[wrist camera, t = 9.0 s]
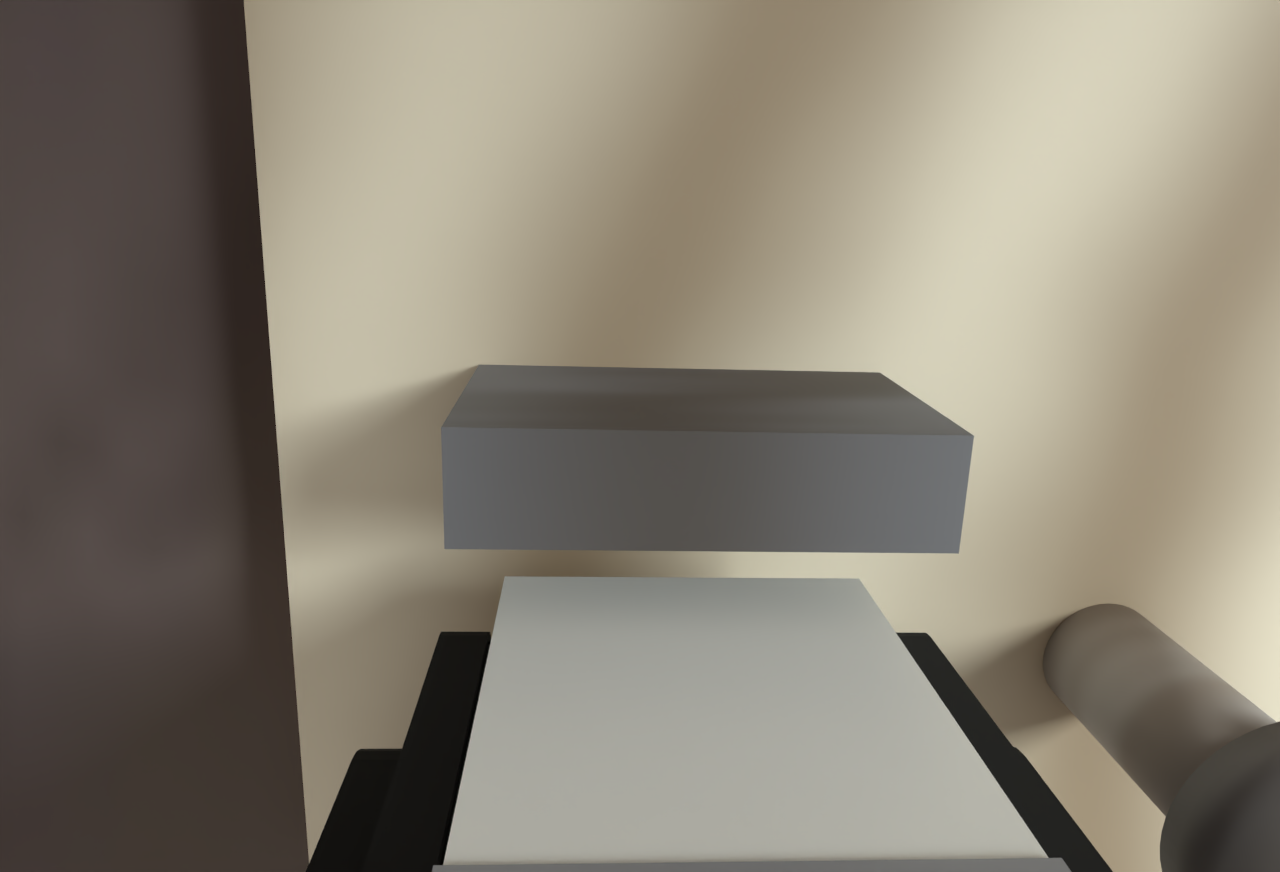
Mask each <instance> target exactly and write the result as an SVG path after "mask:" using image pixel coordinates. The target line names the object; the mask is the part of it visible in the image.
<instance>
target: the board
mask: <svg viewBox="0 0 1280 872" xmlns="http://www.w3.org/2000/svg"><path fill="white" fill-rule="evenodd" d="M244 11H245V24H246V37H247V50H248V64H249V77H250V90H251V103H252V116H253V130H254V143H255V156H256V169H257V182H258V196H259V209H260V222H261V235H262V248H263V262H264V275H265V288H266V301H267V314H268V327H269V341H270V354H271V367H272V380H273V393H274V407H275V420H276V433H277V446H278V459H279V473H280V486H281V499H282V512H283V525H284V539H285V552H286V565H287V578H288V591H289V605H290V618H291V631H292V644H293V657H294V670H295V684H296V697H297V710H298V723H299V736H300V750H301V763H302V776H303V789H304V802H305V816H306V829H307V842H308V855H309V863H310V860H311V858H312V855H313V853H314V851H315V848H316V846H317V843H318V841H319V838H320V836H321V833H322V831H323V829H324V826H325V824H326V821H327V819H328V816H329V814H330V812H331V809H332V807H333V804H334V802H335V799H336V797H337V794H338V792H339V790H340V787H341V785H342V782H343V780H344V777H345V775H346V772H347V770H348V768H349V765H350V763H351V760H352V758H353V756H354V755H355V753H356V751H358V750H359V749H402V747H403V744H404V741H405V738H406V735H407V732H408V729H409V726H410V723H411V720H412V717H413V714H414V711H415V708H416V705H417V702H418V698H419V695H420V692H421V689H422V686H423V683H424V680H425V677H426V674H427V671H428V668H429V665H430V662H431V659H432V656H433V653H434V650H435V647H436V644H437V641H438V638H439V635H440V633H441V632H490V634H491V638H492V634H493V629H494V624H495V620H496V615H497V610H498V605H499V601H500V596H501V591H502V587H503V582H504V577H505V576H524V577H688V578H851V579H860V581H861V582H862V584H863V585H864V587H865V588H866V590H867V591H868V592H869V594H870V595H871V597H872V598H873V600H874V601H875V603H876V604H877V606H878V607H879V609H880V610H881V612H882V613H883V615H884V616H885V617H886V619H887V620H888V622H889V623H890V625H891V626H892V628H893V629H894V631H895V632H896V633H927V634H928V635H929V636H930V637H931V638H932V639H933V641H934V642H935V643H936V645H937V646H938V647H939V649H940V650H941V651H942V653H943V654H944V655H945V657H946V658H947V659H948V661H949V662H950V663H951V665H952V666H953V667H954V669H955V670H956V671H957V673H958V674H959V675H960V677H961V678H962V679H963V681H964V682H965V683H966V685H967V686H968V687H969V689H970V690H971V691H972V693H973V694H974V695H975V697H976V698H977V699H978V701H979V702H980V703H981V705H982V706H983V707H984V709H985V710H986V711H987V713H988V714H989V715H990V717H991V718H992V719H993V721H994V722H995V723H996V725H997V726H998V727H999V729H1000V730H1001V731H1002V733H1003V734H1004V735H1005V737H1006V738H1007V739H1008V741H1009V742H1010V743H1011V745H1012V746H1013V747H1016V748H1017V749H1018V750H1019V751H1020V752H1022V753H1023V754H1024V755H1025V756H1026V758H1027V759H1028V760H1029V762H1030V763H1031V764H1032V766H1033V767H1034V768H1035V770H1036V771H1037V772H1038V774H1039V775H1040V776H1041V778H1042V779H1043V780H1044V781H1045V783H1046V784H1047V785H1048V787H1049V788H1050V789H1051V791H1052V792H1053V793H1054V795H1055V796H1056V797H1057V799H1058V800H1059V801H1060V803H1061V804H1062V805H1063V807H1064V808H1065V809H1066V810H1067V812H1068V813H1069V814H1070V816H1071V817H1072V818H1073V820H1074V821H1075V822H1076V824H1077V825H1078V826H1079V828H1080V829H1081V830H1082V832H1083V833H1084V834H1085V836H1086V837H1087V838H1088V839H1089V841H1090V842H1091V843H1092V845H1093V846H1094V847H1095V849H1096V850H1097V851H1098V853H1099V854H1100V855H1101V857H1102V858H1103V859H1104V861H1105V862H1106V863H1107V864H1108V866H1109V867H1110V868H1111V870H1112V871H1113V872H1280V0H244Z"/></svg>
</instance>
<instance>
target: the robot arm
mask: <svg viewBox="0 0 1280 872" xmlns="http://www.w3.org/2000/svg"><path fill="white" fill-rule="evenodd" d="M896 634H897V635H898V637H899V638H900V640H901V641H902V643H903V644H904V645H905V647H906V648H907V650H908V651H909V653H910V654H911V656H912V657H913V659H914V660H915V662H916V663H917V665H918V666H919V668H920V669H921V670H922V672H923V673H924V675H925V676H926V678H927V679H928V681H929V682H930V684H931V685H932V687H933V688H934V690H935V691H936V693H937V694H938V695H939V697H940V698H941V700H942V701H943V703H944V704H945V706H946V707H947V709H948V710H949V712H950V713H951V715H952V716H953V718H954V719H955V721H956V722H957V723H958V725H959V726H960V728H961V729H962V731H963V732H964V734H965V735H966V737H967V738H968V740H969V741H970V743H971V744H972V746H973V747H974V748H975V750H976V751H977V753H978V754H979V756H980V757H981V759H982V760H983V762H984V763H985V765H986V766H987V768H988V769H989V771H990V772H991V774H992V775H993V776H994V778H995V779H996V781H997V782H998V784H999V785H1000V787H1001V788H1002V790H1003V791H1004V793H1005V794H1006V796H1007V797H1008V799H1009V800H1010V801H1011V803H1012V804H1013V806H1014V807H1015V809H1016V810H1017V812H1018V813H1019V815H1020V816H1021V818H1022V819H1023V821H1024V822H1025V824H1026V825H1027V827H1028V828H1029V829H1030V831H1031V832H1032V834H1033V835H1034V837H1035V838H1036V840H1037V841H1038V843H1039V844H1040V846H1041V847H1042V849H1043V850H1044V852H1045V853H1046V854H1047V856H1048V857H1049V858H1062V859H1063V860H1064V862H1065V863H1066V865H1067V866H1068V868H1069V869H1070V870H1071V872H1113V871H1112V870H1111V868H1110V867H1109V866H1108V864H1107V863H1106V862H1105V861H1104V859H1103V858H1102V857H1101V855H1100V854H1099V853H1098V851H1097V850H1096V849H1095V847H1094V846H1093V845H1092V843H1091V842H1090V841H1089V839H1088V838H1087V837H1086V836H1085V834H1084V833H1083V832H1082V830H1081V829H1080V828H1079V826H1078V825H1077V824H1076V822H1075V821H1074V820H1073V818H1072V817H1071V816H1070V814H1069V813H1068V812H1067V810H1066V809H1065V808H1064V807H1063V805H1062V804H1061V803H1060V801H1059V800H1058V799H1057V797H1056V796H1055V795H1054V793H1053V792H1052V791H1051V789H1050V788H1049V787H1048V785H1047V784H1046V783H1045V781H1044V780H1043V779H1042V778H1041V776H1040V775H1039V774H1038V772H1037V771H1036V770H1035V768H1034V767H1033V766H1032V764H1031V763H1030V762H1029V760H1028V759H1027V758H1026V756H1025V755H1024V754H1023V753H1022V752H1020V751H1019V750H1018V749H1017V748H1016V747H1013V746H1012V745H1011V743H1010V742H1009V741H1008V739H1007V738H1006V737H1005V735H1004V734H1003V733H1002V731H1001V730H1000V729H999V727H998V726H997V725H996V723H995V722H994V721H993V719H992V718H991V717H990V715H989V714H988V713H987V711H986V710H985V709H984V707H983V706H982V705H981V703H980V702H979V701H978V699H977V698H976V697H975V695H974V694H973V693H972V691H971V690H970V689H969V687H968V686H967V685H966V683H965V682H964V681H963V679H962V678H961V677H960V675H959V674H958V673H957V671H956V670H955V669H954V667H953V666H952V665H951V663H950V662H949V661H948V659H947V658H946V657H945V655H944V654H943V653H942V651H941V650H940V649H939V647H938V646H937V645H936V643H935V642H934V641H933V639H932V638H931V637H930V636H929V635H928V634H927V633H896ZM490 643H491V634H490V632H441V633H440V635H439V638H438V641H437V644H436V647H435V650H434V653H433V656H432V659H431V662H430V665H429V668H428V671H427V674H426V677H425V680H424V683H423V686H422V689H421V692H420V695H419V698H418V702H417V705H416V708H415V711H414V714H413V717H412V720H411V723H410V726H409V729H408V732H407V735H406V738H405V741H404V744H403V747H402V749H359V750H358V751H356V753H355V755H354V756H353V758H352V760H351V763H350V765H349V768H348V770H347V772H346V775H345V777H344V780H343V782H342V785H341V787H340V790H339V792H338V794H337V797H336V799H335V802H334V804H333V807H332V809H331V812H330V814H329V816H328V819H327V821H326V824H325V826H324V829H323V831H322V833H321V836H320V838H319V841H318V843H317V846H316V848H315V851H314V853H313V855H312V858H311V860H310V863H309V865H308V868H307V870H306V872H432V869H433V865H443V863H444V858H445V853H446V849H447V844H448V839H449V835H450V830H451V825H452V821H453V816H454V811H455V807H456V802H457V797H458V793H459V788H460V783H461V779H462V774H463V769H464V765H465V760H466V755H467V751H468V746H469V741H470V736H471V732H472V727H473V722H474V718H475V713H476V708H477V704H478V699H479V694H480V690H481V685H482V680H483V676H484V671H485V666H486V662H487V657H488V652H489V648H490Z"/></svg>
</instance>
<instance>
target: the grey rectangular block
mask: <svg viewBox="0 0 1280 872" xmlns="http://www.w3.org/2000/svg"><path fill="white" fill-rule="evenodd" d="M432 872H1071V870H1070V869H1069V868H1068V866H1067V865H1066V863H1065V862H1064V860H1063V859H1062V858H1049V857H1048V856H1047V854H1046V853H1045V852H1044V850H1043V849H1042V847H1041V846H1040V844H1039V843H1038V841H1037V840H1036V838H1035V837H1034V835H1033V834H1032V832H1031V831H1030V829H1029V828H1028V827H1027V825H1026V824H1025V822H1024V821H1023V819H1022V818H1021V816H1020V815H1019V813H1018V812H1017V810H1016V809H1015V807H1014V806H1013V804H1012V803H1011V801H1010V800H1009V799H1008V797H1007V796H1006V794H1005V793H1004V791H1003V790H1002V788H1001V787H1000V785H999V784H998V782H997V781H996V779H995V778H994V776H993V775H992V774H991V772H990V771H989V769H988V768H987V766H986V765H985V763H984V762H983V760H982V759H981V757H980V756H979V754H978V753H977V751H976V750H975V748H974V747H973V746H972V744H971V743H970V741H969V740H968V738H967V737H966V735H965V734H964V732H963V731H962V729H961V728H960V726H959V725H958V723H957V722H956V721H955V719H954V718H953V716H952V715H951V713H950V712H949V710H948V709H947V707H946V706H945V704H944V703H943V701H942V700H941V698H940V697H939V695H938V694H937V693H936V691H935V690H934V688H933V687H932V685H931V684H930V682H929V681H928V679H927V678H926V676H925V675H924V673H923V672H922V670H921V669H920V668H919V666H918V665H917V663H916V662H915V660H914V659H913V657H912V656H911V654H910V653H909V651H908V650H907V648H906V647H905V645H904V644H903V643H902V641H901V640H900V638H899V637H898V635H897V634H896V632H895V631H894V629H893V628H892V626H891V625H890V623H889V622H888V620H887V619H886V617H885V616H884V615H883V613H882V612H881V610H880V609H879V607H878V606H877V604H876V603H875V601H874V600H873V598H872V597H871V595H870V594H869V592H868V591H867V590H866V588H865V587H864V585H863V584H862V582H861V581H860V579H851V578H688V577H524V576H505V577H504V582H503V587H502V591H501V596H500V601H499V605H498V610H497V615H496V620H495V624H494V629H493V634H492V638H491V643H490V648H489V652H488V657H487V662H486V666H485V671H484V676H483V680H482V685H481V690H480V694H479V699H478V704H477V708H476V713H475V718H474V722H473V727H472V732H471V736H470V741H469V746H468V751H467V755H466V760H465V765H464V769H463V774H462V779H461V783H460V788H459V793H458V797H457V802H456V807H455V811H454V816H453V821H452V825H451V830H450V835H449V839H448V844H447V849H446V853H445V858H444V863H443V865H433V869H432Z"/></svg>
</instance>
